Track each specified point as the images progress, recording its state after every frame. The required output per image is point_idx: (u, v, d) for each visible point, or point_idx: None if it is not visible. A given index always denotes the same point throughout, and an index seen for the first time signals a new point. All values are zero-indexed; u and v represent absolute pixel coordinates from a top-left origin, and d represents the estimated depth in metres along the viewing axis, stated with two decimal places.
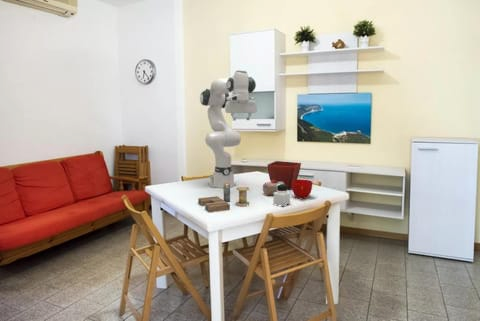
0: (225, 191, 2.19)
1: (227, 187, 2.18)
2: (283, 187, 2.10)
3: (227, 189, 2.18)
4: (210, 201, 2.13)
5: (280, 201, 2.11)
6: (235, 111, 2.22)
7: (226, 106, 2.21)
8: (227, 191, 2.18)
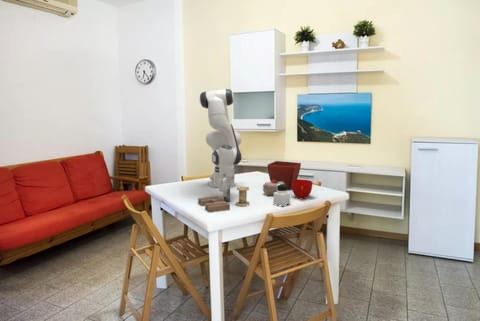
0: None
1: None
2: (283, 187, 2.10)
3: (227, 189, 2.18)
4: (210, 201, 2.13)
5: (280, 201, 2.11)
6: None
7: None
8: (227, 191, 2.18)
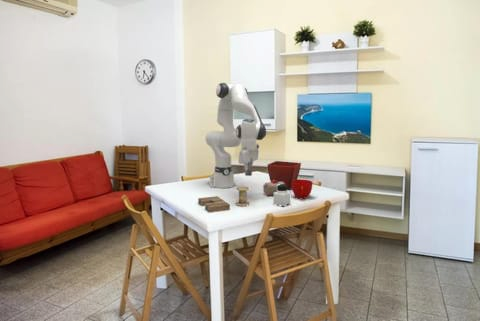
0: None
1: None
2: (283, 187, 2.10)
3: None
4: (210, 201, 2.13)
5: (280, 201, 2.11)
6: None
7: None
8: (248, 164, 2.19)
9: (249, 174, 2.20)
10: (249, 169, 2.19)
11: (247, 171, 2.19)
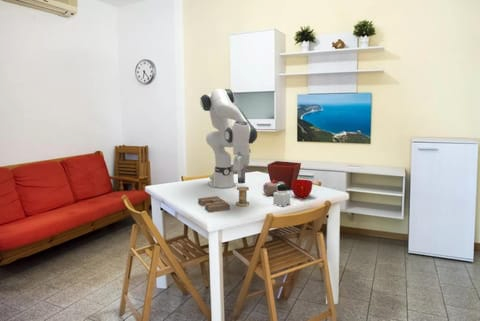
0: None
1: None
2: (283, 187, 2.10)
3: (242, 169, 1.98)
4: (210, 201, 2.13)
5: (280, 201, 2.11)
6: None
7: None
8: (242, 171, 1.99)
9: (243, 182, 2.00)
10: (243, 176, 1.99)
11: (240, 178, 1.99)
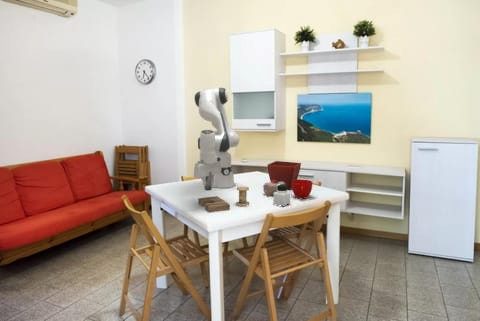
0: None
1: None
2: (283, 187, 2.10)
3: (207, 176, 2.05)
4: (210, 201, 2.13)
5: (280, 201, 2.11)
6: None
7: None
8: (207, 179, 2.05)
9: (208, 189, 2.06)
10: (208, 183, 2.05)
11: (206, 185, 2.06)
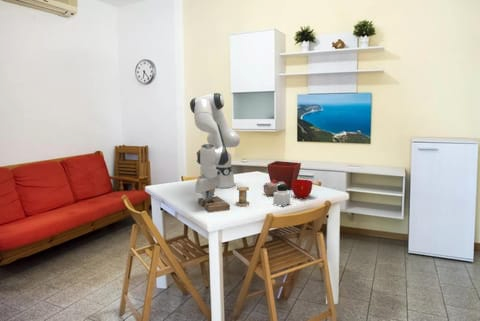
0: None
1: (208, 192, 2.06)
2: (283, 187, 2.10)
3: (208, 194, 2.06)
4: None
5: (280, 201, 2.11)
6: None
7: None
8: (208, 196, 2.06)
9: None
10: (209, 201, 2.07)
11: None
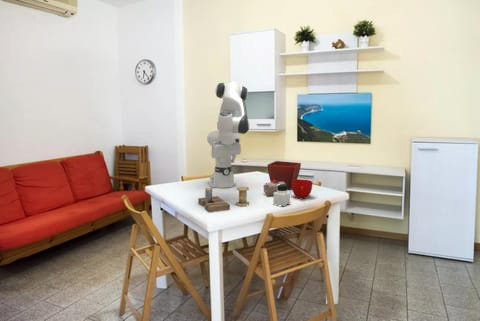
0: (206, 196, 2.07)
1: (208, 192, 2.06)
2: (283, 187, 2.10)
3: (208, 194, 2.06)
4: None
5: (280, 201, 2.11)
6: None
7: None
8: (208, 196, 2.06)
9: None
10: (209, 201, 2.07)
11: None
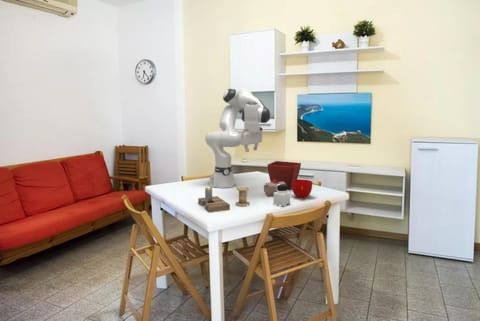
0: (206, 196, 2.07)
1: (208, 192, 2.06)
2: (283, 187, 2.10)
3: (208, 194, 2.06)
4: None
5: (280, 201, 2.11)
6: None
7: None
8: (208, 196, 2.07)
9: None
10: (209, 201, 2.07)
11: None
